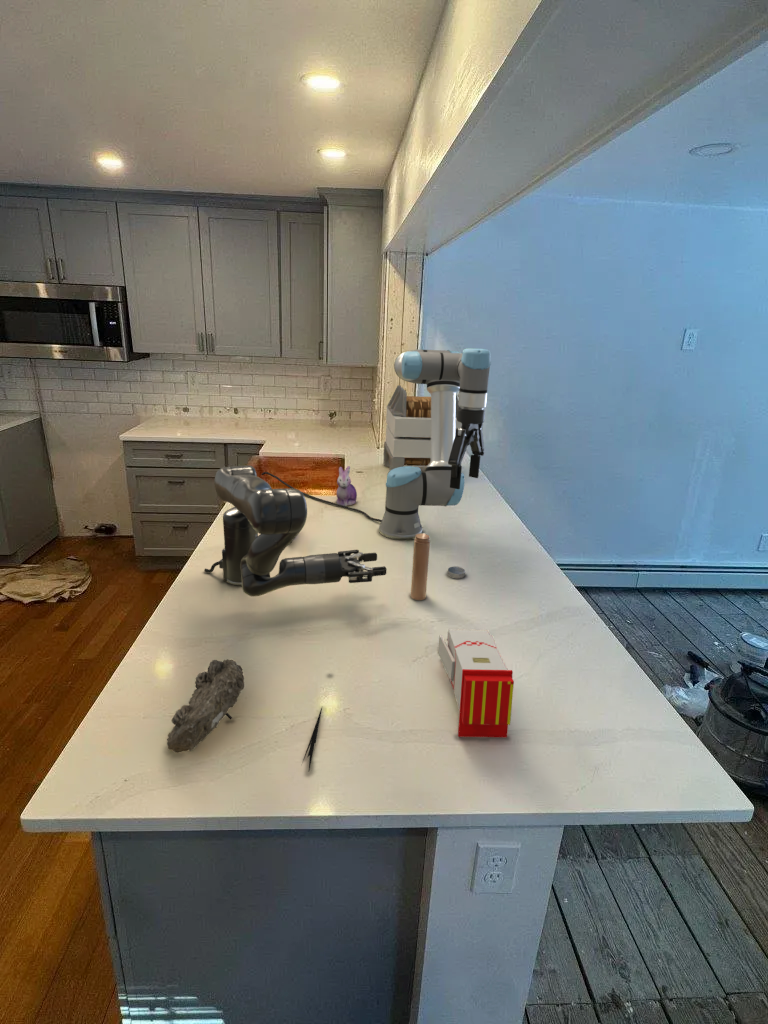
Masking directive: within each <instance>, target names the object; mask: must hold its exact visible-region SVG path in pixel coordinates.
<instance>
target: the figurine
mask: <svg viewBox="0 0 768 1024" xmlns="http://www.w3.org/2000/svg"><path fill="white" fill-rule="evenodd" d="M350 473H351V466H350V465H348V466H347V467H346V468H345V469H344V468H343V467H342V466H339V467H338V477H337V480H336V483H337V486H338V487H337V489H336V501H335V503H336V504H340V505H343V506H347V507H348V506H352V505H355V504H356V503H357V498H358V494H357V489H356V486H354V485H353V484H352V480H351V477H350Z"/></svg>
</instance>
